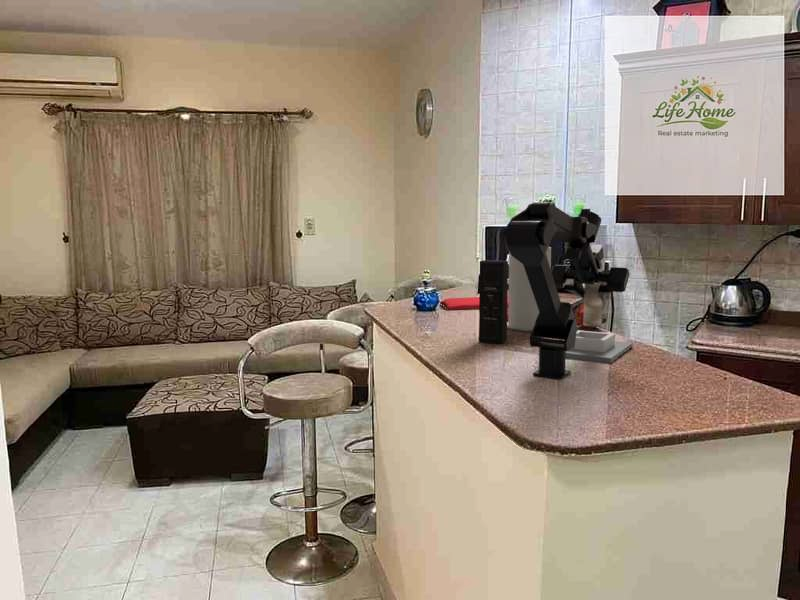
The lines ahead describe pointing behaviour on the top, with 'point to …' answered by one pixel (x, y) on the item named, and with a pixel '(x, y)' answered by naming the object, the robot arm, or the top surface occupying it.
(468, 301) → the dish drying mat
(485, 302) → the portable radio
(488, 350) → the top surface
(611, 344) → the socket board
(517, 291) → the cylinder vase
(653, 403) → the top surface
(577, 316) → the dragon fruit
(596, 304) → the birch pin
